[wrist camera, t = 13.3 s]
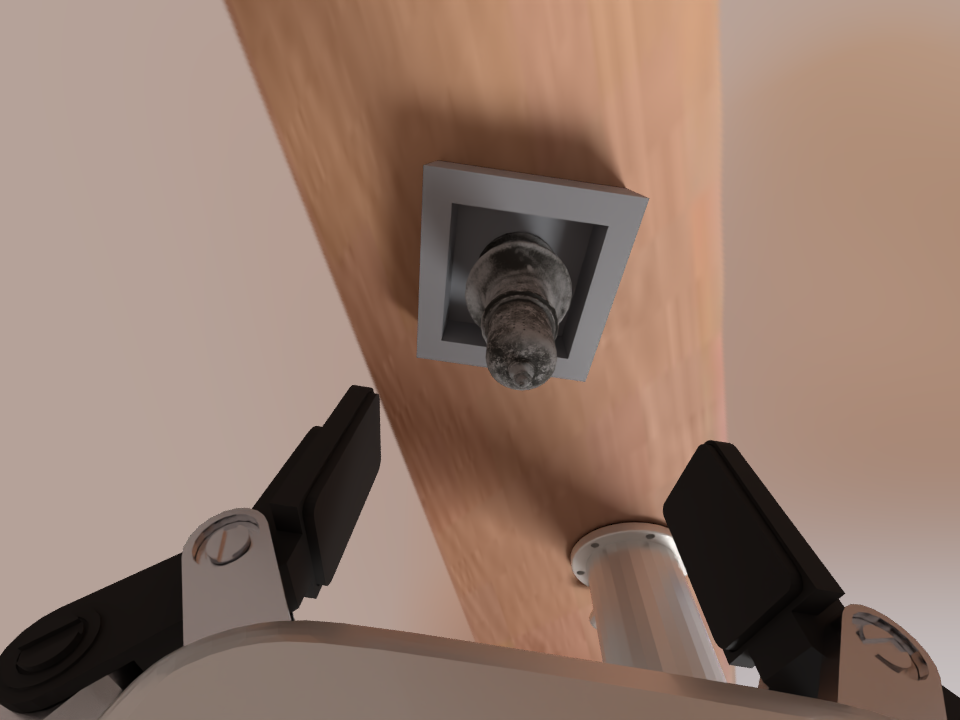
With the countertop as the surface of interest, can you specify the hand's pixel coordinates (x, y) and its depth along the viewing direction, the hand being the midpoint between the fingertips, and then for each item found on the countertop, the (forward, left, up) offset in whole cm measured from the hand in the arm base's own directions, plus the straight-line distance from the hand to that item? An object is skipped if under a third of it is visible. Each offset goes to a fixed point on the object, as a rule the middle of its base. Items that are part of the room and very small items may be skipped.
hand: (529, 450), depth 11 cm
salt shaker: (0, 0, -15) cm, 15 cm away
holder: (+1, 0, -16) cm, 16 cm away
